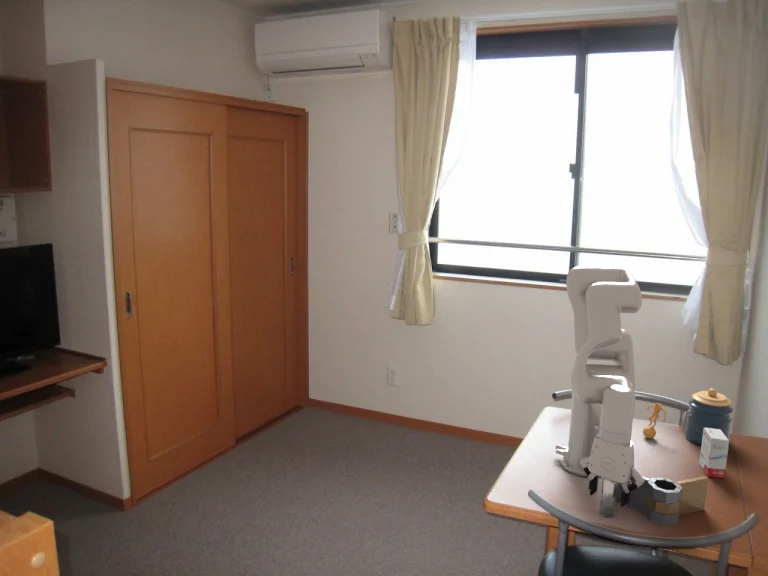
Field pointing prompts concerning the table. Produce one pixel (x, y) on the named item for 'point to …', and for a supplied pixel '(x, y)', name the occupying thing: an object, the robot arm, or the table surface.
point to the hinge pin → (608, 498)
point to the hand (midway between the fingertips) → (608, 498)
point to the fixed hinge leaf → (658, 491)
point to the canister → (708, 414)
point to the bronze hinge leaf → (684, 498)
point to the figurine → (650, 431)
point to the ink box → (714, 452)
